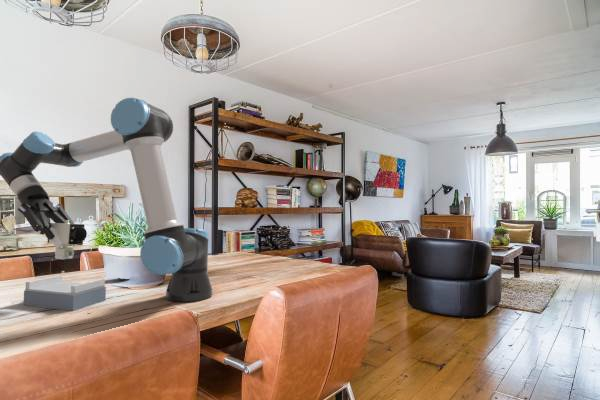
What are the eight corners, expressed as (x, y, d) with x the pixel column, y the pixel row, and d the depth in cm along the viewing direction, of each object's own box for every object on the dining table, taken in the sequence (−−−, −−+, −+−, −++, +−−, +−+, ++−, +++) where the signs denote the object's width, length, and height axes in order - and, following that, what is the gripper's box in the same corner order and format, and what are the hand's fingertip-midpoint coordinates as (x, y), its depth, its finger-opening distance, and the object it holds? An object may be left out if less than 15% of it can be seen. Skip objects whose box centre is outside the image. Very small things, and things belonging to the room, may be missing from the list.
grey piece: (105, 300, 117) (105, 278, 117) (73, 310, 105) (73, 286, 105) (52, 295, 122) (52, 274, 123) (16, 304, 111) (16, 281, 111)
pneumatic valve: (72, 260, 109) (75, 220, 110) (42, 257, 112) (46, 219, 113) (87, 259, 114) (90, 221, 115) (58, 256, 117) (62, 219, 118)
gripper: (49, 200, 127) (85, 249, 123) (-7, 199, 110) (34, 256, 105) (61, 185, 126) (98, 234, 121) (7, 182, 109) (48, 239, 104)
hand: (68, 244), depth 113 cm, fingers closed on pneumatic valve, 5 cm apart
